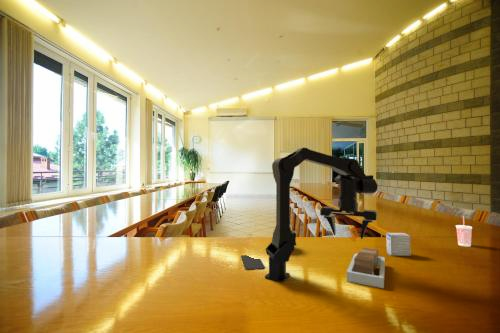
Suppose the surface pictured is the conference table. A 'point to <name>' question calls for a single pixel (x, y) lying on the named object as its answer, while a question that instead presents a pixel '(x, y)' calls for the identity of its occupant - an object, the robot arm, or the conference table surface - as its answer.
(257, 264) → the phone
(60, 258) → the conference table surface
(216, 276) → the conference table surface
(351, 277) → the peg frame
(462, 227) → the beverage cup
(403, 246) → the medicine box
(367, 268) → the brown block
